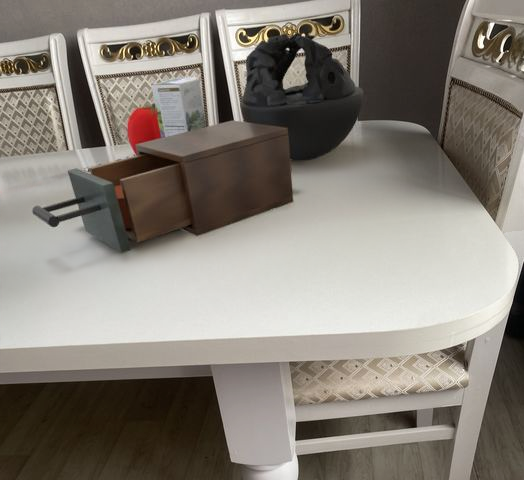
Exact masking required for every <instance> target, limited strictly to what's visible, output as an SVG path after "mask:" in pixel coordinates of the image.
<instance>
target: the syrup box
mask: <svg viewBox="0 0 524 480" xmlns="http://www.w3.org/2000/svg"><path fill="white" fill-rule="evenodd" d="M151 91H152V97H153V102H154V104H155V107H156V113H157V118H158V123H159V128H160V134H161V138H164V137H168V136H172V135H176V134H180V133H184V132H188V131H192V130H196V129H200V128H204V127H207V124H206V117H205V110H204V102H203V97H202V96H203V95H202V89H201V81H200V78H198V77H190V76H189V77H187V76H186V77H183V76H182V77H181V76H180V77H174V78H170V79H167V80H164V81H161V82H160V81H159V82H157V83H154V84H151Z"/></svg>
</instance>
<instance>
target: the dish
mask: <svg viewBox="0 0 524 480" xmlns="http://www.w3.org/2000/svg"><path fill="white" fill-rule="evenodd" d="M114 188H115V192H116V195H117V199H118V203H119V207H120V211H121V215H122V218H123V222H124V226H125V229H132V227H131V223H130V219H129V215H128V211H127V207H126V203H125V199H124V195H123V191H122V187H121V185H118V186H115V187H114Z"/></svg>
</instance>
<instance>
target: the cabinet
mask: <svg viewBox="0 0 524 480" xmlns="http://www.w3.org/2000/svg"><path fill="white" fill-rule="evenodd" d="M135 146H136V150H137V155H142V154H145V153H147V154H151V155H155V156H158V157H162V158H166V159H169V160H173V161H177V162H181V168H182V174H183V179H184V184H185V189H186V195H187V200H188V205H189V211H190V216H191V221H192V224H191V225H188V226H185V227H182V228H179V229H181V230H183V231H184V232H187V233H189V234H192V235H193V236H195V237H199V236H202V235H205V234H207V233H210V232H213V231H216V230H219V229H222V228H225V227H227V226H229V225H232V224H235V223H239V222H241V221H243V220H247V219H249V218H252V217H255V216H258V215H261V214H263V213H266V212H269V211H272V210H274V208H275V209H277V208H280V207H283V206H286V205H289V204H292V203H293V202H294V193H293V178H292V165H291V160H290V151H289V138H288V128H284V127H277V126H270V125H262V124H255V123H247V122H245V121H239V120H234V119H233V120H229V121H225V122H220V123H217V124H213V125H210V126H209V125H208V126H206V127H204V128H200V129H196V130H192V131H188V132H184V133H180V134H176V135H172V136H168V137H164V138H160V139H156V140H152V141H148V142H144V143H140V144H136V145H135ZM288 203H289V204H288ZM285 204H286V205H285ZM271 209H272V210H271Z"/></svg>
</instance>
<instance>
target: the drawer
mask: <svg viewBox="0 0 524 480" xmlns="http://www.w3.org/2000/svg"><path fill="white" fill-rule="evenodd" d="M88 169H89V172H87V171H84V170H82V169H78V168H72V169H68V170H67V175H68V177H69V181H70V184H71V187H72V190H73V194H74V198H70V199H67V200H64V201H60V202H57V203H52V204H49V205H46V206H43V207H41V206H40V205H35V206H34V207H33V208H32V210H31V212H32V214H33V215H34V216H35V217H36V218H38V219H39V220H41V221H43V222H44V223H45V224H46V225H48V226H49V227H51V228H56V227H58V226H59V224H60V223H63V222H66V221H69V220H72V219H76V218H79V217H81V220H82V223H83V227H84V230H85V232H87V233H88V234H90V235H91V236H93V237H95V238H96V239H98V240H99V241H101V242H103V243H104V244H106V245H108V246H109V247H111V248H113V249H114V250H116V252H117V251H118V252H119V253H120V254H123V253H126V252H129V251H131V246H130V245H131V244H130V242H129V239H131V240H132V241H134V242H135V243H141V242H144V241H147V240H150V239H153V238H155V237H158V236H161V235H164V234H167V233H170V232H173V231H177V230H179V229H180V228H182V227H185V226H188V225H191V224H192V221H191V216H190V211H189V205H188V200H187V195H186V189H185V184H184V179H183V174H182V168H181V162H177V161H173V160H169V159H166V158H162V157H158V156H155V155H151V154H147V153H145V154H142V155H138V156H136V155H134V156H130V157H126V158H122V159H119V160H115V161H110V162H107V163H103V164H99V165H96V166H93V167H89V168H88ZM118 185H121V187H122V191H123V195H124V199H125V203H126V207H127V211H128V215H129V219H130V223H131V227H132V229H125V226H124V222H123V218H122V215H121V211H120V207H119V203H118V199H117V195H116V192H115V188H114V187H115V186H118ZM76 205H77V208H78V209H75V210H71V211H69V212H65V213H61V214H59V215H56V216H55V214H53V213H51V212H54V211H55V212H56V211H58V210H61V209H65V208H69V207H71V206H76Z"/></svg>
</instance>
